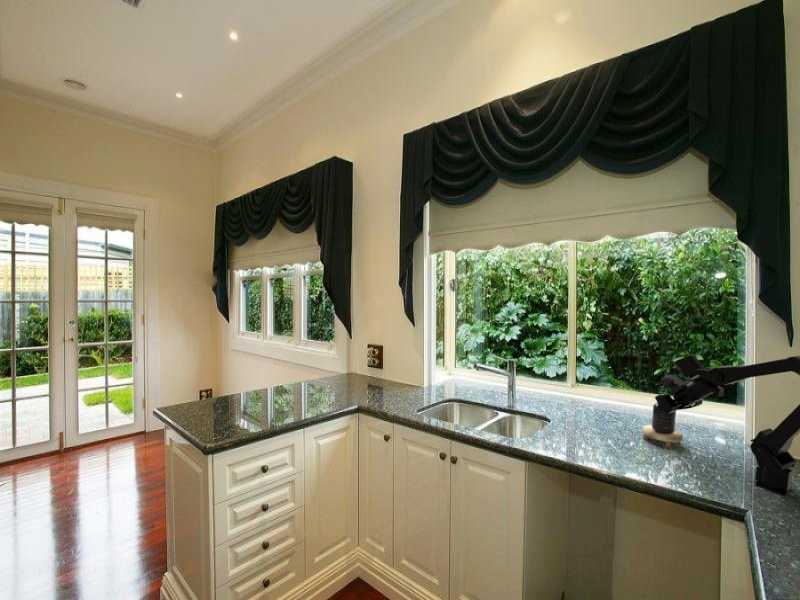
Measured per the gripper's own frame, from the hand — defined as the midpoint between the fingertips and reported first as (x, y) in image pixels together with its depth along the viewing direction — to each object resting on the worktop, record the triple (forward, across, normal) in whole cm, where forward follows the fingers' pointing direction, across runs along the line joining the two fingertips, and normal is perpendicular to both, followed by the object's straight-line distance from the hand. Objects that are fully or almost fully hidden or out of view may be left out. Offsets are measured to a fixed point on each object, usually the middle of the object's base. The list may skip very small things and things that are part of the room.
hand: (660, 411), depth 138 cm
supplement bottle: (+4, 0, +6) cm, 7 cm away
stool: (+7, 0, +8) cm, 11 cm away
